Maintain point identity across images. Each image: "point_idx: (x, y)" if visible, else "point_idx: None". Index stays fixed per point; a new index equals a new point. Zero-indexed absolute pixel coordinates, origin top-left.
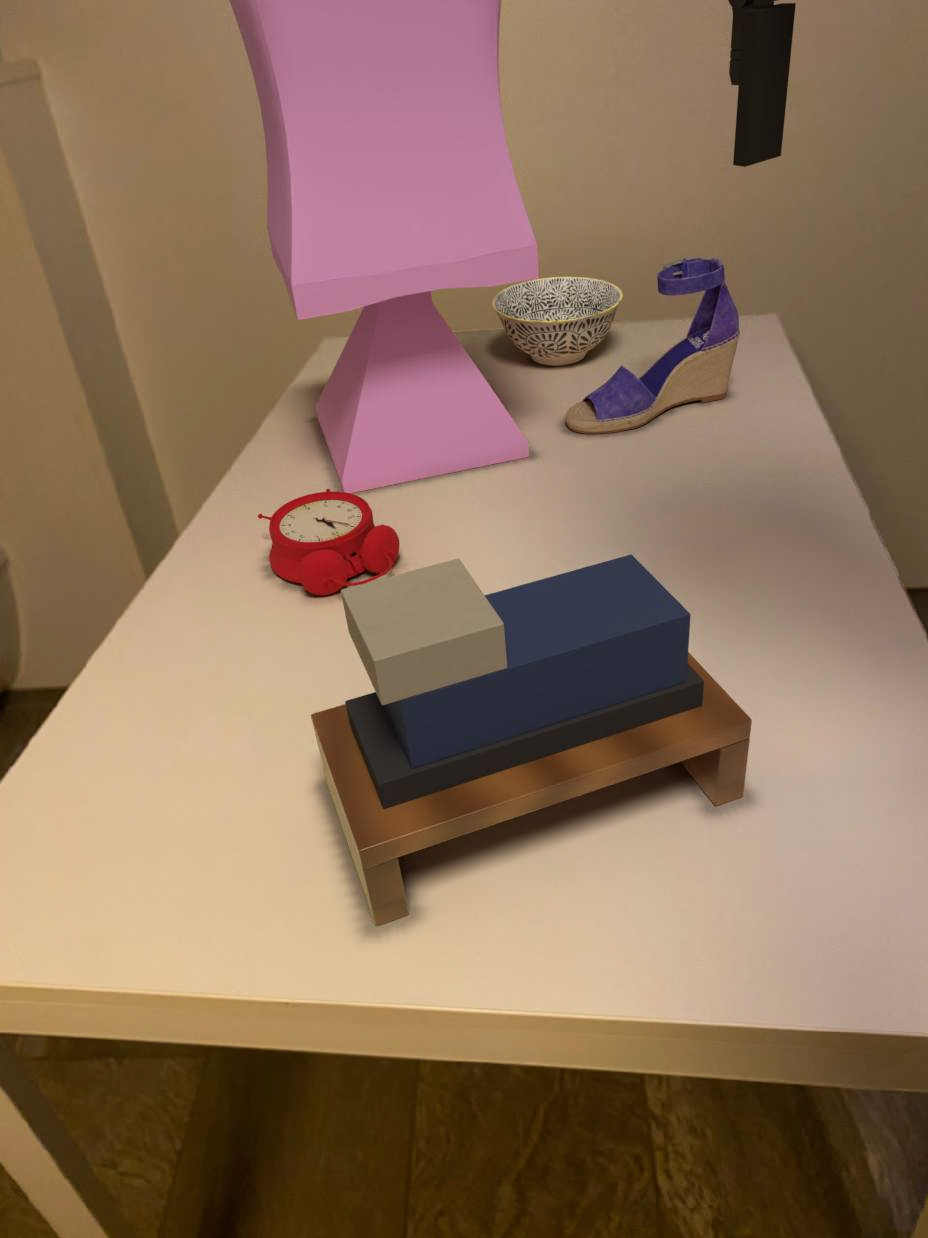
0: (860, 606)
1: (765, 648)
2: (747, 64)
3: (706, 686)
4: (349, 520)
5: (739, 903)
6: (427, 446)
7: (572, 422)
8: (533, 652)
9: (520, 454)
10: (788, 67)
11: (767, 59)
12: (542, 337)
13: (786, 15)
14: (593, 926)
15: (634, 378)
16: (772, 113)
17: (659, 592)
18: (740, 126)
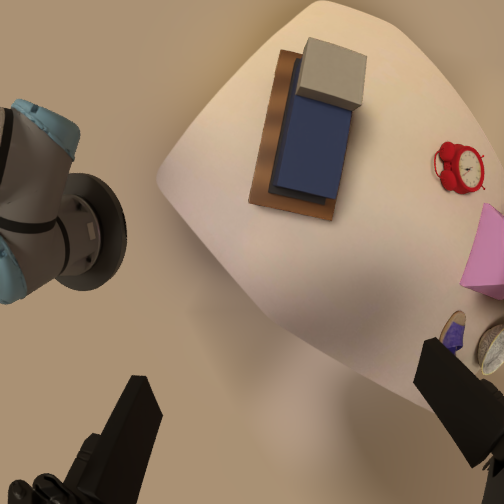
0: (300, 320)
1: (306, 271)
2: (480, 391)
3: (276, 202)
4: (465, 178)
5: (212, 164)
6: (484, 244)
7: (459, 312)
8: (298, 109)
9: (462, 280)
10: (447, 429)
11: (466, 413)
12: (493, 333)
13: (473, 454)
14: (234, 119)
15: (454, 345)
16: (436, 392)
17: (300, 185)
18: (450, 356)
